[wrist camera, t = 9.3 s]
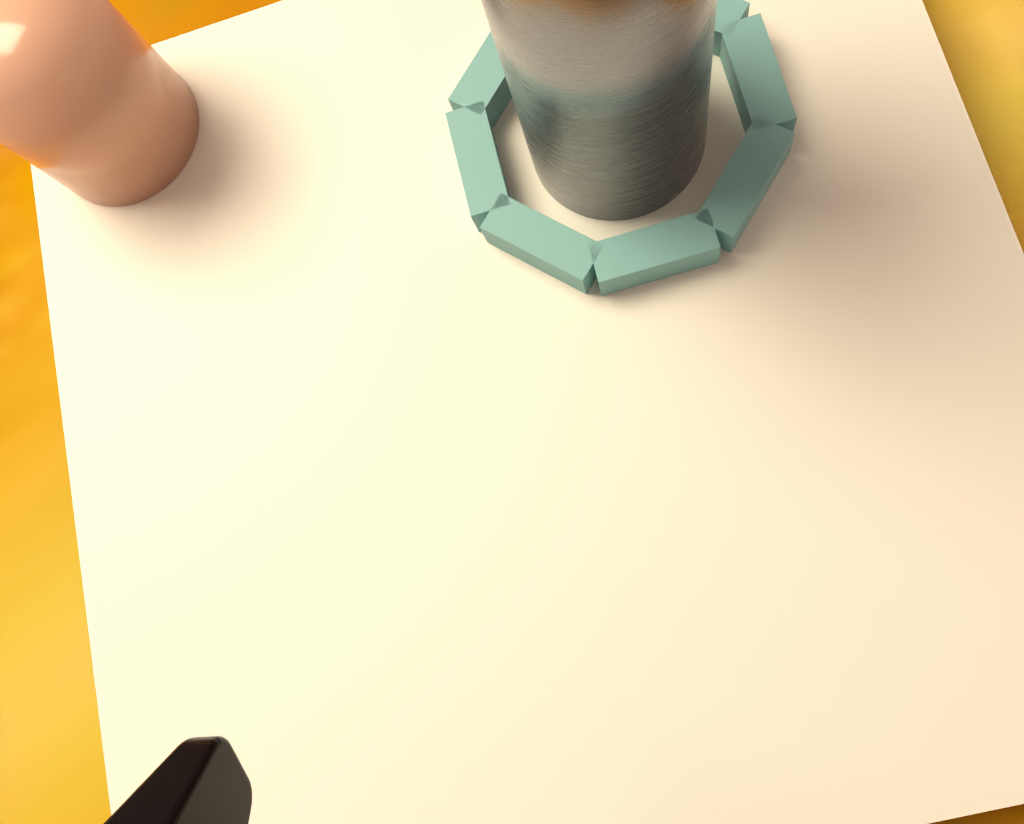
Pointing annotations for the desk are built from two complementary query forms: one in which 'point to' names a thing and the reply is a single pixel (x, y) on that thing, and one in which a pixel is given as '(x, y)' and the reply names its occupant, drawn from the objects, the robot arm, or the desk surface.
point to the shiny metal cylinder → (609, 96)
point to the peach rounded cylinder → (92, 100)
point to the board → (554, 437)
